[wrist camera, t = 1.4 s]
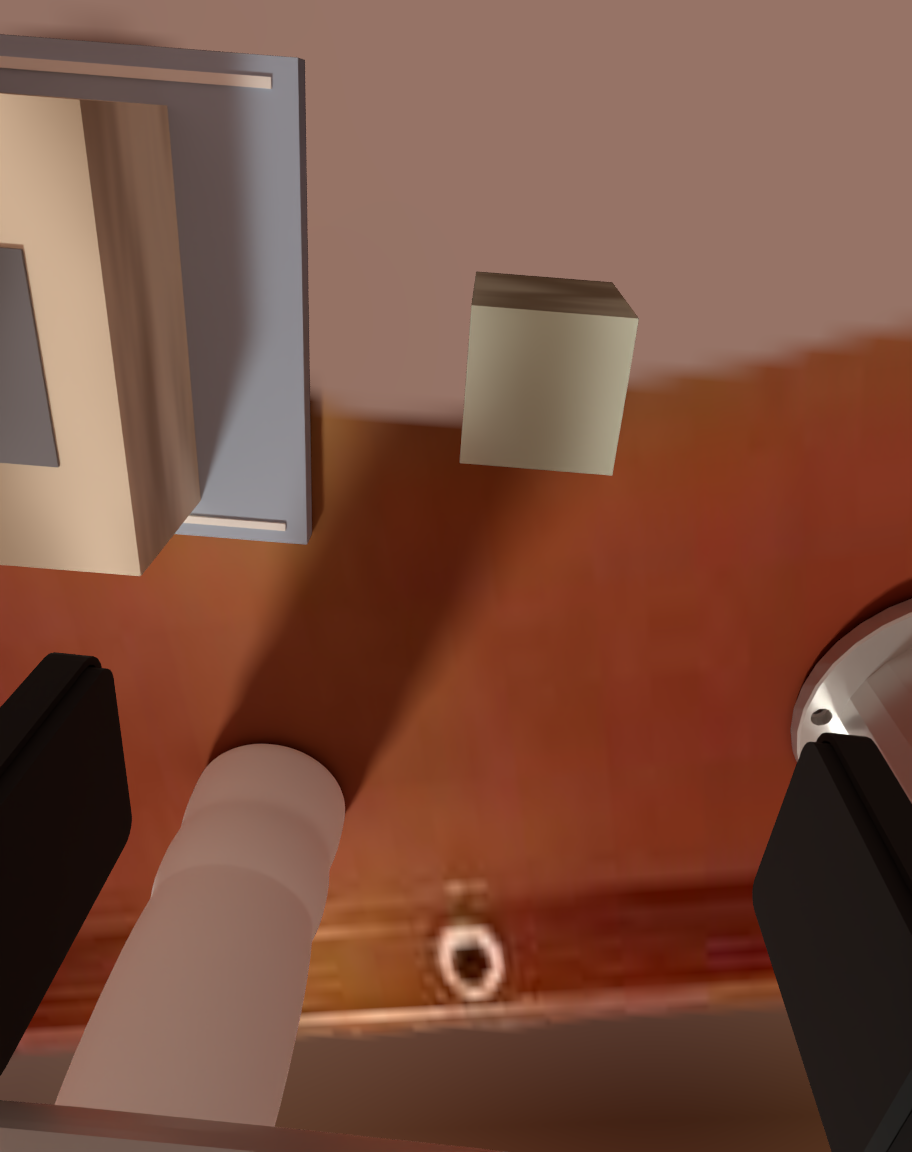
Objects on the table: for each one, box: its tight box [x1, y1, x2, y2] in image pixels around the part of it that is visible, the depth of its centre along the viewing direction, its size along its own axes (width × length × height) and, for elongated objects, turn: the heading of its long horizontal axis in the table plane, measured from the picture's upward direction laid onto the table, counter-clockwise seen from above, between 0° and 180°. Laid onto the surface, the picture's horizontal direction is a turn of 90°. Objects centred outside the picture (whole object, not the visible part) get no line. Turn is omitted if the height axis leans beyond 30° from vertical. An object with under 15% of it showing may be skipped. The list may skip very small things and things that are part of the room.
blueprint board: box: [0, 34, 312, 545], centre depth 29 cm, size 18×16×1 cm
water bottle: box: [55, 744, 345, 1127], centre depth 29 cm, size 7×7×25 cm
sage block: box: [460, 272, 639, 475], centre depth 26 cm, size 5×5×6 cm
